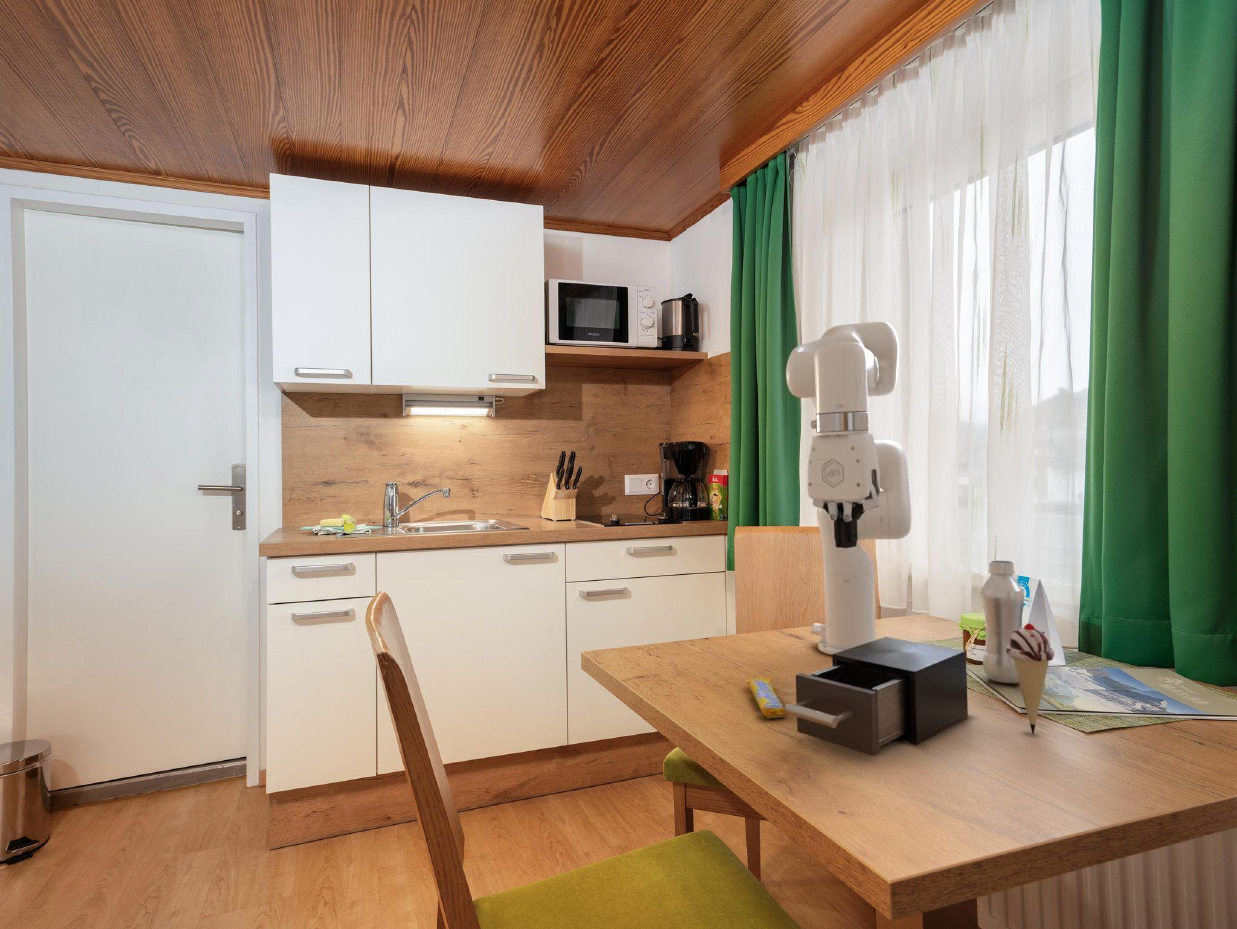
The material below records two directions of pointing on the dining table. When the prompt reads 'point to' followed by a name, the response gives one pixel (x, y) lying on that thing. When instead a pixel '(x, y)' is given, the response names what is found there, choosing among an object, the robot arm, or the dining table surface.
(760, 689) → the candy bar
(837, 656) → the small drawer cabinet
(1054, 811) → the dining table surface
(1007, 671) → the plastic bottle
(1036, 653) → the ice cream cone
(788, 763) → the dining table surface
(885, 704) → the pull-out drawer
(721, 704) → the dining table surface
